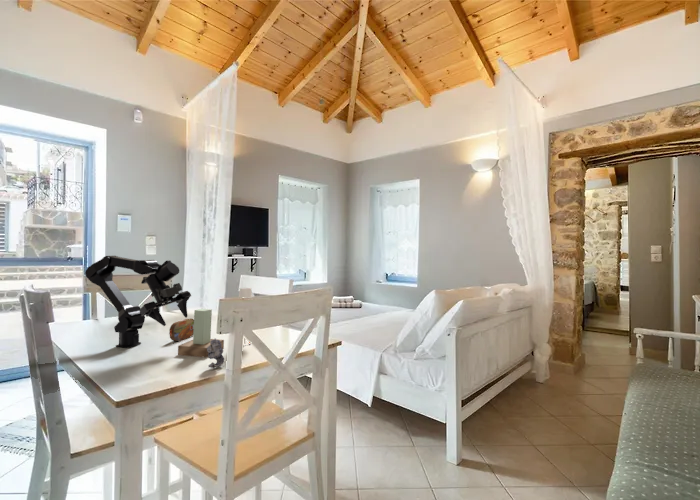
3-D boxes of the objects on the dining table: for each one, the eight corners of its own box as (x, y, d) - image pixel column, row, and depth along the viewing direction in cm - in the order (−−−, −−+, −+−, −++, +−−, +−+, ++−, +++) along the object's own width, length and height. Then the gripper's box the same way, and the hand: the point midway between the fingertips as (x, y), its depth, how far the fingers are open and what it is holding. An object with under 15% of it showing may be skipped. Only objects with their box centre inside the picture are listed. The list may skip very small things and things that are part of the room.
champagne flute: (246, 346, 143) (247, 289, 143) (232, 344, 146) (233, 288, 145) (255, 342, 150) (256, 287, 150) (242, 341, 152) (243, 286, 152)
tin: (174, 343, 146) (174, 323, 146) (167, 342, 147) (168, 323, 147) (196, 334, 161) (197, 316, 161) (190, 334, 161) (191, 316, 161)
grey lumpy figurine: (213, 371, 115) (214, 341, 115) (203, 367, 118) (204, 338, 118) (227, 366, 119) (227, 338, 119) (217, 363, 122) (217, 335, 122)
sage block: (193, 343, 134) (194, 310, 134) (200, 340, 138) (201, 308, 138) (203, 344, 133) (204, 311, 133) (210, 341, 137) (211, 309, 137)
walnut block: (177, 356, 131) (178, 345, 131) (196, 347, 143) (197, 337, 143) (206, 358, 129) (206, 348, 129) (223, 349, 141) (223, 339, 141)
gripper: (142, 284, 126) (161, 321, 124) (188, 272, 142) (205, 305, 140) (131, 297, 132) (149, 333, 130) (176, 284, 147) (193, 316, 145)
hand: (176, 321), depth 136 cm, fingers open, 9 cm apart
